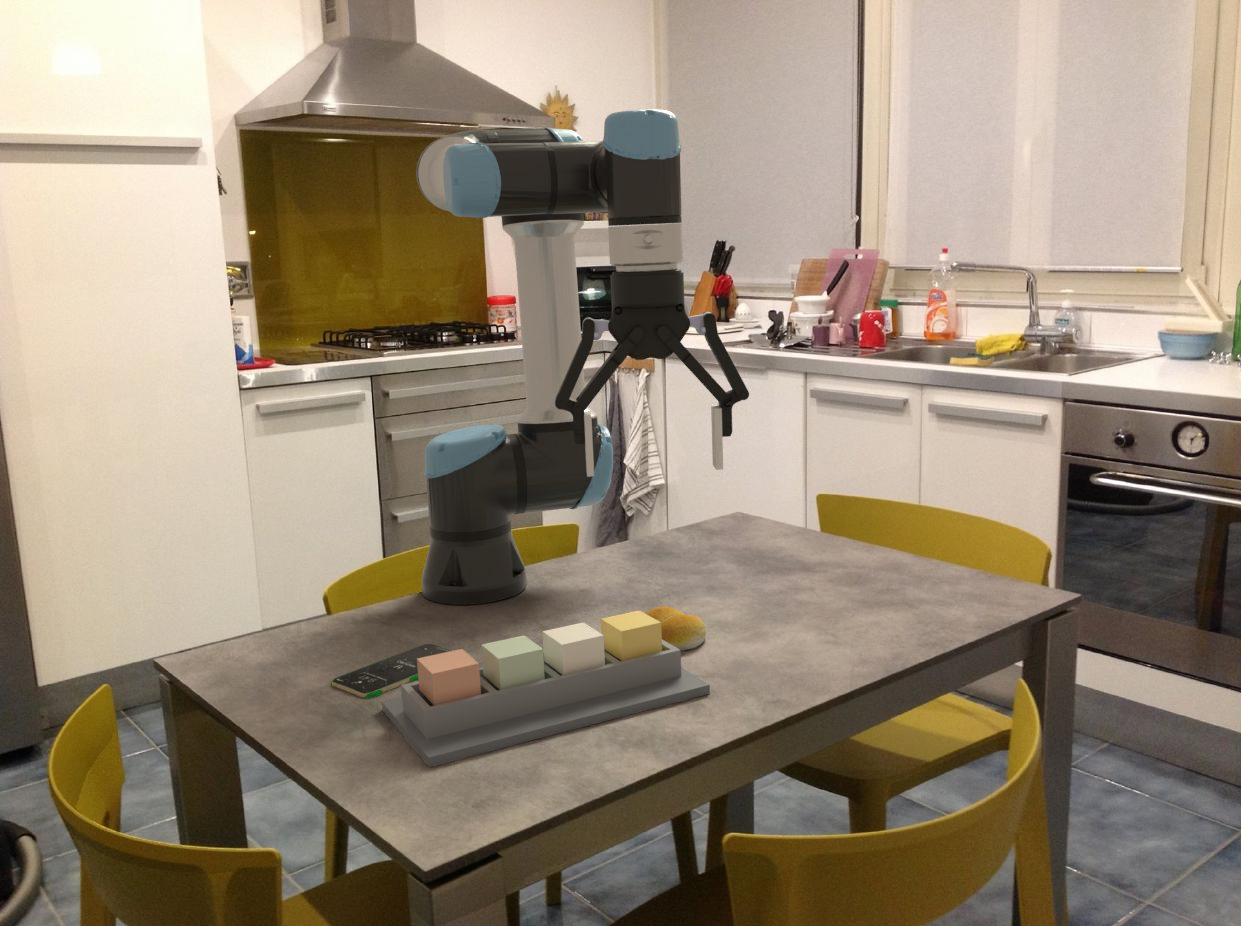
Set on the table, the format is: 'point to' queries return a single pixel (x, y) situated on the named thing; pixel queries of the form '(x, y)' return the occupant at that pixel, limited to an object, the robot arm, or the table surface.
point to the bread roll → (679, 627)
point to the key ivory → (573, 648)
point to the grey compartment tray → (540, 705)
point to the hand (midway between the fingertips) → (654, 470)
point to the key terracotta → (448, 676)
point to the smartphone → (386, 673)
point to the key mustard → (631, 635)
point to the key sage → (512, 662)
